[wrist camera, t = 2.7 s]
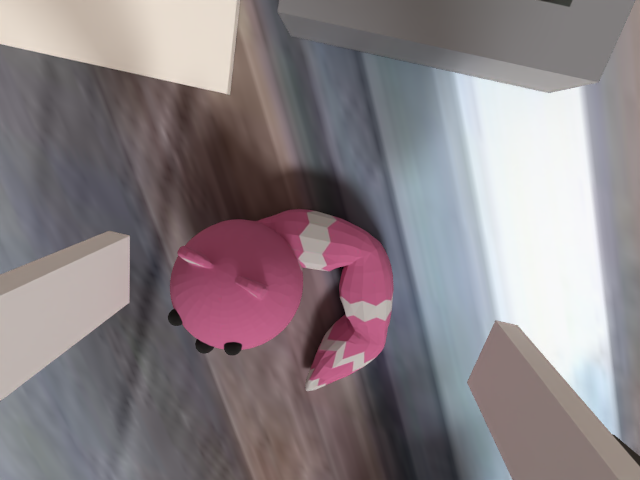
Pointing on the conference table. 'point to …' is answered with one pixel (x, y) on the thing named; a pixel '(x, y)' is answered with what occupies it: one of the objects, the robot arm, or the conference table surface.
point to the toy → (283, 287)
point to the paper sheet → (132, 36)
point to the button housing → (473, 35)
